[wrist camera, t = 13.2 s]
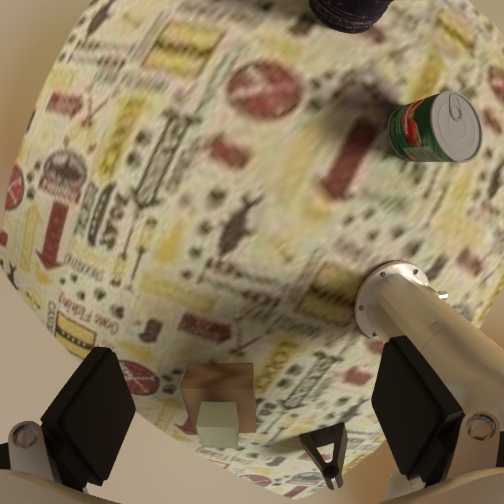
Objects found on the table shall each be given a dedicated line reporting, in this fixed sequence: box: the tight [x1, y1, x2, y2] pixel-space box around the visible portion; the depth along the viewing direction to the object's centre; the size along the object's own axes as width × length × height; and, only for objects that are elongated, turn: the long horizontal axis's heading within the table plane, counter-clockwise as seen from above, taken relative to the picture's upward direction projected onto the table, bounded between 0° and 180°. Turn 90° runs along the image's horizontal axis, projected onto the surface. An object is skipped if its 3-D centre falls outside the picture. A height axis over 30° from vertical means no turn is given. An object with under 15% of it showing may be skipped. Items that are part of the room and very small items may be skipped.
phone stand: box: [299, 422, 348, 490], centre depth 42 cm, size 9×6×12 cm, turn 109°
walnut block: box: [181, 363, 256, 433], centre depth 41 cm, size 10×10×6 cm
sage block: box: [196, 401, 239, 448], centre depth 35 cm, size 5×5×5 cm
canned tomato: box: [387, 91, 483, 163], centre depth 27 cm, size 8×8×11 cm
